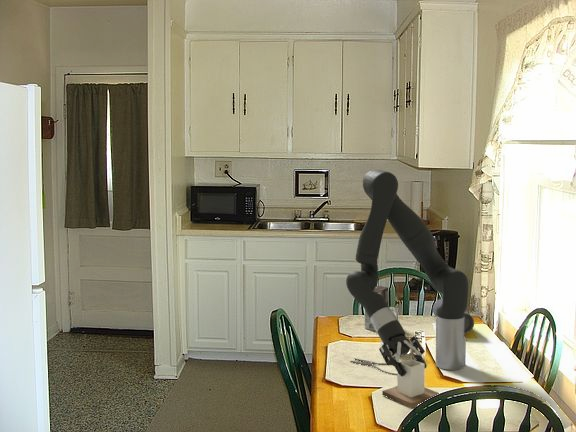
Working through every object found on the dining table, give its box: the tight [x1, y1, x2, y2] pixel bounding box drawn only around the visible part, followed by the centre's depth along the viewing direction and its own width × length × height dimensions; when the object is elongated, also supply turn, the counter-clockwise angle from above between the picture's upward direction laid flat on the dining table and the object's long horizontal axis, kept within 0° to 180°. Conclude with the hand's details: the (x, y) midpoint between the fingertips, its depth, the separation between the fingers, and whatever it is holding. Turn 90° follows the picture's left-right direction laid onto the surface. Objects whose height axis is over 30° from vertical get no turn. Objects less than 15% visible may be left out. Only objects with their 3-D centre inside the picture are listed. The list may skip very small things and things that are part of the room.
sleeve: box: [397, 358, 426, 397], centre depth 207 cm, size 6×6×9 cm
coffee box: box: [364, 285, 390, 332], centre depth 278 cm, size 9×6×16 cm
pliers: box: [350, 358, 398, 376], centre depth 233 cm, size 10×1×20 cm
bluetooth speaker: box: [432, 298, 475, 335], centre depth 275 cm, size 23×9×10 cm, turn 9°
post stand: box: [381, 365, 440, 409], centre depth 207 cm, size 12×12×10 cm
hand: (414, 371), depth 206 cm, fingers open, 8 cm apart
